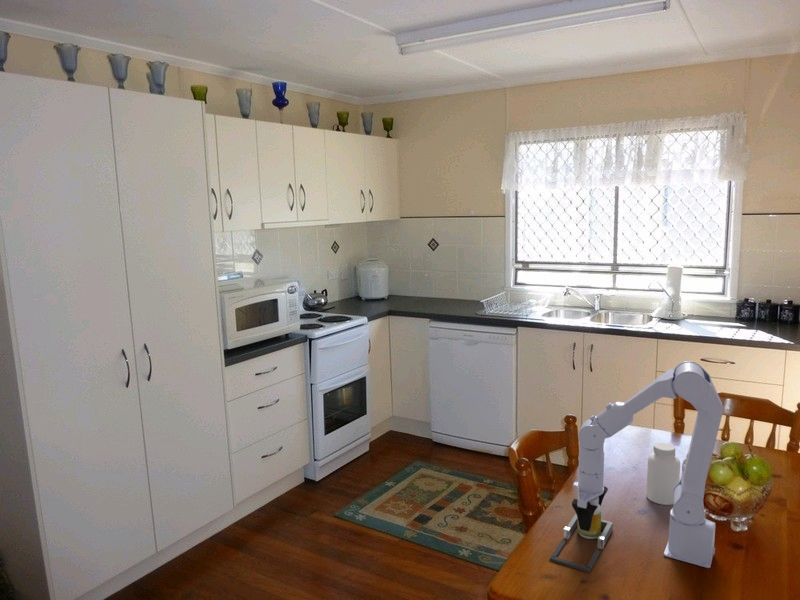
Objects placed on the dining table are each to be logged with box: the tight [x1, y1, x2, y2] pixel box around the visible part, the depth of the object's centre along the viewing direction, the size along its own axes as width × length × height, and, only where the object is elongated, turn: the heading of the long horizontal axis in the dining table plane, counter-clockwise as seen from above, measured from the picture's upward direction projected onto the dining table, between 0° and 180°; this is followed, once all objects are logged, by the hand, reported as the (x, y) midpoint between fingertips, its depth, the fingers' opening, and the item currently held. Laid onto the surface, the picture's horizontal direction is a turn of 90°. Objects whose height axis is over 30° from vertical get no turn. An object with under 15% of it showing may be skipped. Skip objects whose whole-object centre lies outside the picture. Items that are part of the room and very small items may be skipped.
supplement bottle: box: [577, 497, 602, 540], centre depth 146 cm, size 5×5×10 cm
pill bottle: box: [645, 442, 681, 506], centre depth 161 cm, size 8×8×15 cm
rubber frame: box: [549, 539, 601, 574], centre depth 137 cm, size 9×8×1 cm
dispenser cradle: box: [563, 513, 614, 550], centre depth 146 cm, size 9×10×2 cm
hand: (589, 522), depth 146 cm, fingers open, 7 cm apart
